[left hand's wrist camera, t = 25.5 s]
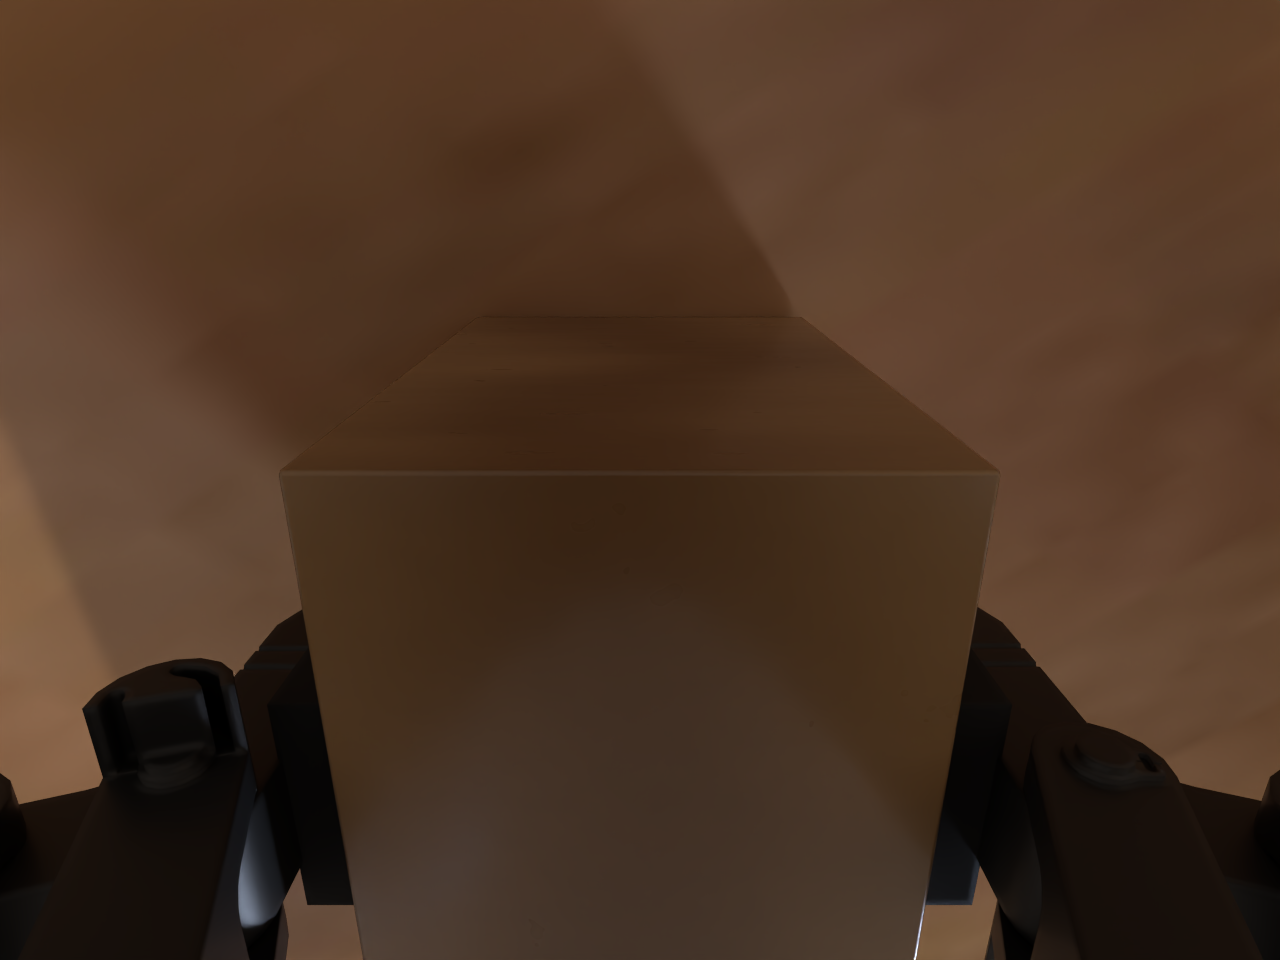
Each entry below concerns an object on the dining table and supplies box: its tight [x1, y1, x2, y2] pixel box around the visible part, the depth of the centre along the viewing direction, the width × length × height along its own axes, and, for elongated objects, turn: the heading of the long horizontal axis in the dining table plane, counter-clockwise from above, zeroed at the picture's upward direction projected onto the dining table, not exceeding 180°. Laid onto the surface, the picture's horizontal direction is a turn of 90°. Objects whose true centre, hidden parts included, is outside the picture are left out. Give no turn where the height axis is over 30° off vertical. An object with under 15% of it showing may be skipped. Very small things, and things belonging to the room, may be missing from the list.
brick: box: [279, 317, 1000, 960], centre depth 12 cm, size 6×8×8 cm
